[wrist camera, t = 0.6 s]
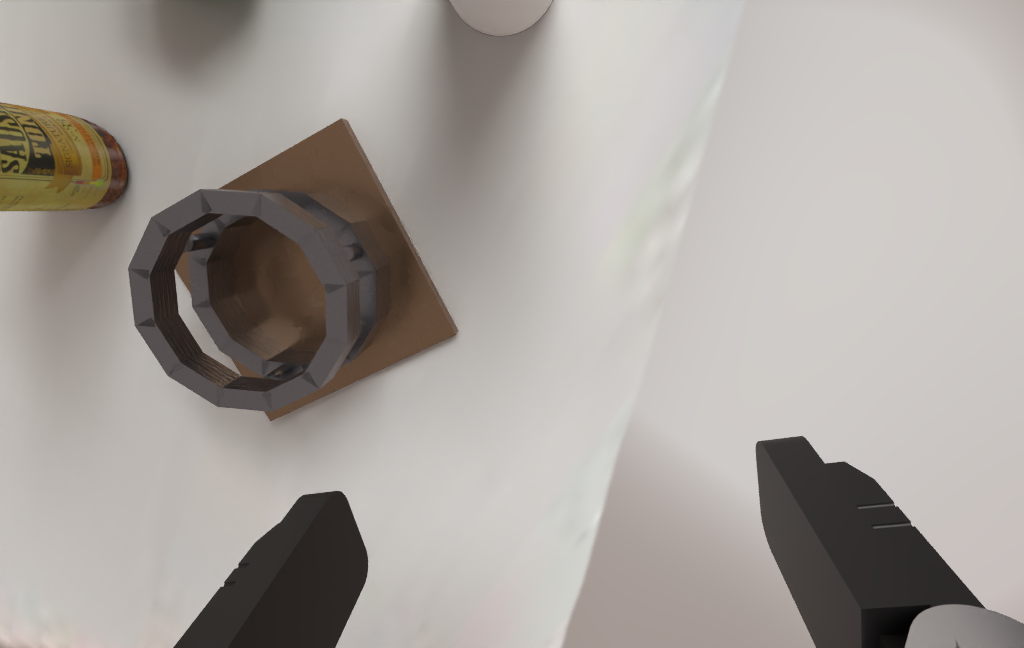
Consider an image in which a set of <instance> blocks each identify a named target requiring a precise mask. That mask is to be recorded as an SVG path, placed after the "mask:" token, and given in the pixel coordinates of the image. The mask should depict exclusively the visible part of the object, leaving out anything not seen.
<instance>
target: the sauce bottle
mask: <svg viewBox="0 0 1024 648" xmlns="http://www.w3.org/2000/svg"><path fill="white" fill-rule="evenodd" d="M126 180H127V167H126V163H125V158H124V155H123V152H122V151H121V148H120V145H119V144H117V143H116V140H115V139H114V137H113V136H111V135H110V134H109V133H108V132H107V131H105V130H104V129H102V128H100V127H99V126H97V125H96V124H93V123H91V122H88V121H87V120H84V119H81V118H78V117H75V116H72V115H68V114H62V113H57V112H51V111H46V110H41V109H35V108H29V107H24V106H18V105H12V104H6V103H0V211H69V210H83V209H94V208H99V207H102V206H106V205H107V204H110V203H112V202H114V201H115V200H116V199H117V198H118V197H119V196H120V194H121V193H122V191H123V190H124V188H125V186H126Z"/></svg>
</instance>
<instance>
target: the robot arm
mask: <svg viewBox="0 0 1024 648" xmlns="http://www.w3.org/2000/svg"><path fill="white" fill-rule="evenodd" d="M756 460H757V472H758V484H759V496H760V507H761V517H762V522H763V527H764V531H765V535H766V538H767V541H768V544H769V547H770V549H771V552H772V554H773V556H774V558H775V560H776V562H777V565H778V567H779V569H780V571H781V573H782V575H783V577H784V580H785V581H786V584H787V586H788V588H789V590H790V592H791V594H792V597H793V599H794V601H795V603H796V605H797V607H798V610H799V612H800V614H801V616H802V618H803V620H804V622H805V624H806V626H807V629H808V631H809V633H810V635H811V637H812V639H813V642H814V644H815V646H816V648H1024V624H1023V623H1020V622H1019V621H1016V620H1014V619H1012V618H1010V617H1008V616H1005V615H1003V614H1000V613H997V612H995V611H991V610H988V609H986V608H985V607H984V606H983V605H982V604H981V603H980V602H979V601H978V599H977V598H976V597H975V596H974V595H973V594H972V592H971V591H970V590H969V589H968V588H967V586H966V585H965V584H964V583H963V582H962V581H961V580H960V578H959V577H958V576H957V575H956V574H955V573H954V571H953V570H952V569H951V568H950V567H949V566H948V565H947V563H946V562H945V561H944V560H943V559H942V557H941V556H940V555H939V554H938V553H937V552H936V550H935V549H934V548H933V547H932V546H931V545H930V544H929V542H927V540H926V539H925V538H924V536H923V535H922V534H921V533H920V532H919V531H918V530H917V528H916V527H912V525H911V521H910V520H909V519H908V518H907V517H906V516H905V514H904V513H903V512H902V511H901V510H900V509H899V507H895V505H894V502H893V500H892V499H891V498H890V497H889V496H888V495H887V493H886V492H885V491H884V490H883V489H882V488H881V486H880V485H879V484H878V483H877V482H876V481H875V480H874V479H873V478H871V477H869V476H868V475H866V474H865V473H863V472H861V471H860V470H858V469H856V468H854V467H853V466H851V465H849V464H848V463H846V462H837V463H827V464H825V463H824V462H823V461H822V459H821V458H820V457H819V455H818V454H817V453H816V451H815V450H814V449H813V447H812V446H811V445H810V443H809V442H808V441H807V440H806V438H804V437H803V436H799V437H790V438H782V439H774V440H765V441H758V442H757V444H756ZM238 565H239V567H238V568H236V569H234V570H233V572H232V573H231V574H230V576H229V577H228V578H227V579H226V581H225V582H224V583H225V584H224V587H220V588H219V590H218V591H217V592H216V594H215V595H214V596H213V597H212V599H211V600H210V601H209V603H208V604H207V605H206V606H205V608H204V609H203V610H202V612H201V613H200V614H199V615H198V617H197V618H196V619H195V621H194V622H193V623H192V624H191V626H190V627H189V628H188V630H187V631H186V632H185V633H184V635H183V636H182V637H181V639H180V640H179V641H178V642H177V644H176V645H175V646H174V648H335V647H336V645H337V643H338V640H339V638H340V636H341V634H342V632H343V630H344V627H345V625H346V623H347V621H348V619H349V617H350V615H351V612H352V610H353V608H354V606H355V604H356V602H357V600H358V597H359V595H360V593H361V591H362V589H363V587H364V584H365V582H366V578H367V573H368V556H367V551H366V548H365V545H364V543H363V540H362V537H361V535H360V532H359V529H358V527H357V524H356V521H355V519H354V516H353V513H352V511H351V508H350V505H349V503H348V500H347V498H346V496H345V495H344V494H343V493H342V492H340V491H333V492H324V493H316V494H308V495H303V496H301V497H300V498H299V499H298V500H297V501H296V503H295V504H294V505H293V507H292V508H291V509H290V511H289V512H288V513H287V515H286V516H285V517H284V519H283V520H282V521H281V522H280V523H278V524H277V525H276V526H275V527H273V528H272V529H271V530H270V531H269V532H267V533H266V534H265V535H264V536H263V537H261V538H260V539H259V540H258V541H257V542H255V543H254V545H253V546H252V547H251V549H250V550H249V551H248V552H247V554H246V555H245V556H244V558H243V559H242V560H241V561H240V563H239V564H238Z"/></svg>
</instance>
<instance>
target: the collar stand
mask: <svg viewBox="0 0 1024 648" xmlns="http://www.w3.org/2000/svg"><path fill="white" fill-rule="evenodd" d="M175 269H176V271H177V273H178V274H179V276H180V277H181V279H182V281H183V282H184V284H185V285H186V287H187V288H188V290H189V292H190V293H191V297H192V307H193V309H194V310H195V312H196V313H197V315H198V317H199V318H200V320H201V321H202V323H203V325H204V326H205V328H206V329H207V331H208V332H209V334H210V336H211V337H212V339H213V340H214V342H215V344H216V345H217V347H218V348H219V350H220V351H221V352H223V353H225V354H226V355H228V356H229V357H231V359H232V360H233V362H234V363H235V365H236V367H237V368H238V370H239V371H240V373H241V375H242V376H240V375H238V374H236V373H235V372H233V371H232V370H230V369H229V368H227V367H225V366H224V365H222V364H221V363H219V362H217V361H216V360H214V359H213V358H211V357H209V356H208V355H206V354H205V353H203V352H202V350H201V349H200V347H199V345H198V344H197V342H196V341H195V339H194V338H193V336H192V334H191V333H190V331H189V330H188V328H187V327H186V325H185V323H184V322H183V320H182V319H181V317H180V316H179V314H178V304H177V293H176V283H175V273H174V270H175ZM128 271H129V279H130V287H131V296H132V304H133V313H134V321H135V327H136V328H137V330H138V331H139V333H140V334H141V336H142V337H143V339H144V340H145V342H146V343H147V345H148V346H149V348H150V349H151V351H152V352H153V354H154V355H155V357H156V358H157V360H158V362H159V363H160V365H161V366H162V368H163V369H164V371H165V372H166V374H167V375H168V376H169V377H171V378H172V379H174V380H175V381H177V382H179V383H180V384H182V385H184V386H185V387H187V388H188V389H190V390H192V391H193V392H195V393H196V394H198V395H200V396H201V397H203V398H204V399H206V400H208V401H209V402H211V403H213V404H214V405H216V406H217V407H227V408H237V409H248V410H259V411H265V413H266V415H267V416H268V418H269V419H270V421H272V420H274V419H276V418H278V417H281V416H283V415H285V414H287V413H289V412H291V411H293V410H295V409H298V408H300V407H302V406H304V405H306V404H308V403H310V402H313V401H315V400H317V399H319V398H321V397H323V396H325V395H328V394H330V393H332V392H334V391H336V390H338V389H340V388H343V387H345V386H347V385H349V384H351V383H353V382H355V381H357V380H360V379H362V378H364V377H366V376H368V375H370V374H372V373H375V372H377V371H379V370H381V369H383V368H385V367H387V366H390V365H392V364H394V363H396V362H398V361H400V360H402V359H404V358H407V357H409V356H411V355H413V354H415V353H417V352H419V351H422V350H424V349H426V348H428V347H430V346H432V345H434V344H437V343H439V342H441V341H443V340H445V339H447V338H449V337H452V336H454V335H456V333H457V332H458V329H457V327H456V326H455V324H454V322H453V320H452V318H451V316H450V314H449V312H448V310H447V308H446V307H445V305H444V303H443V301H442V299H441V297H440V295H439V293H438V291H437V290H436V288H435V286H434V284H433V282H432V280H431V278H430V276H429V274H428V272H427V271H426V269H425V267H424V265H423V263H422V261H421V259H420V257H419V255H418V254H417V252H416V250H415V248H414V246H413V244H412V242H411V240H410V238H409V236H408V235H407V233H406V231H405V229H404V227H403V225H402V223H401V221H400V219H399V218H398V216H397V214H396V212H395V210H394V208H393V206H392V204H391V202H390V200H389V199H388V197H387V195H386V193H385V191H384V189H383V187H382V185H381V183H380V181H379V180H378V178H377V176H376V174H375V172H374V170H373V168H372V166H371V164H370V163H369V161H368V159H367V157H366V155H365V153H364V151H363V149H362V147H361V145H360V144H359V142H358V140H357V138H356V136H355V134H354V132H353V130H352V128H351V127H350V125H349V123H348V121H347V120H345V119H342V118H341V119H340V120H338V121H336V122H334V123H333V124H331V125H329V126H327V127H326V128H324V129H322V130H320V131H319V132H317V133H315V134H314V135H312V136H310V137H308V138H307V139H305V140H303V141H301V142H300V143H298V144H296V145H294V146H293V147H291V148H289V149H287V150H286V151H284V152H282V153H280V154H279V155H277V156H275V157H273V158H272V159H270V160H268V161H266V162H265V163H263V164H261V165H259V166H258V167H256V168H254V169H253V170H251V171H249V172H247V173H246V174H244V175H242V176H240V177H239V178H237V179H235V180H233V181H232V182H230V183H228V184H226V185H225V186H223V187H221V188H219V189H200V190H198V191H196V192H195V193H193V194H191V195H189V196H188V197H186V198H184V199H183V200H181V201H179V202H177V203H176V204H174V205H172V206H170V207H169V208H167V209H165V210H163V211H162V212H160V213H158V214H157V215H155V216H153V217H151V219H150V221H149V224H148V226H147V228H146V230H145V232H144V235H143V237H142V239H141V241H140V243H139V246H138V248H137V250H136V252H135V254H134V257H133V259H132V261H131V263H130V265H129V267H128Z"/></svg>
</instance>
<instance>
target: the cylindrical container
mask: <svg viewBox="0 0 1024 648" xmlns="http://www.w3.org/2000/svg"><path fill="white" fill-rule="evenodd" d="M449 1H450V3H451V5H452V6H453V8H454V9H455V11H456V13H457V14H458V15H459V16H460V17H461V18H462V20H463V21H464V22H465V23H467V24H468V25H469V26H471V27H472V28H473V29H475V30H478V31H480V32H482V33H484V34H489V35H493V36H508V35H512V34H516V33H519V32H521V31H523V30H525V29H527V28H529V27H531V26H532V25H533V24H534V23H536V22H537V21H538V20H539V19H540V18H541V17H542V16H543V15H544V14H545V12H546V11H547V9H548V8H549V6H550V4H551V3H552V1H553V0H449Z"/></svg>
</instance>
